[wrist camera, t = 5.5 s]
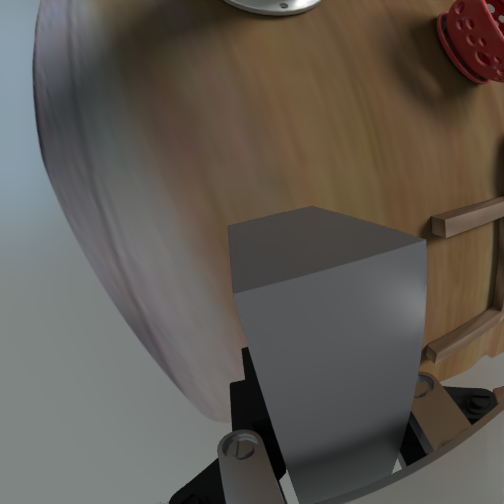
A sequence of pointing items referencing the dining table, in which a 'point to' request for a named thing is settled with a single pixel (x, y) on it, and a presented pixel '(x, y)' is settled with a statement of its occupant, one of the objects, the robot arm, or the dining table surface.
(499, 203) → the walnut frame
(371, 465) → the block
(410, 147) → the dining table surface
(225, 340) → the dining table surface
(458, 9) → the plant pot
